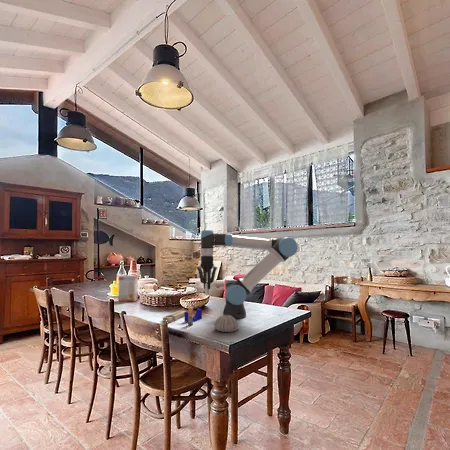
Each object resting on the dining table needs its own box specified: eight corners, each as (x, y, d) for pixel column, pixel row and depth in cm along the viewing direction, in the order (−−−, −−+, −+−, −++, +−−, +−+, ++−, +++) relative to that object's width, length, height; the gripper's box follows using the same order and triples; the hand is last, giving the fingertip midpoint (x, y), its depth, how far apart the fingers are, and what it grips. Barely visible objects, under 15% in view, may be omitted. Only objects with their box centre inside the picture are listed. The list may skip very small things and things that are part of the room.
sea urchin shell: (225, 325, 169) (225, 311, 170) (244, 329, 160) (243, 314, 161) (209, 330, 159) (209, 315, 160) (228, 335, 150) (228, 319, 151)
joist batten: (186, 315, 192) (186, 311, 192) (170, 323, 173) (170, 318, 173) (179, 315, 194) (179, 310, 194) (162, 322, 175) (162, 317, 175)
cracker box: (137, 300, 244) (137, 275, 246) (134, 302, 238) (134, 276, 240) (121, 300, 246) (122, 275, 247) (118, 301, 240) (118, 275, 241)
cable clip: (189, 323, 174) (189, 313, 174) (184, 322, 177) (184, 311, 177) (203, 319, 183) (203, 309, 184) (198, 318, 186) (198, 308, 187)
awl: (193, 324, 170) (193, 307, 171) (191, 325, 168) (191, 308, 168) (189, 324, 171) (189, 306, 172) (187, 325, 169) (187, 307, 169)
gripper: (194, 255, 178) (194, 294, 177) (214, 255, 174) (214, 296, 172) (200, 255, 185) (199, 293, 184) (219, 255, 181) (219, 294, 179)
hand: (207, 294), depth 178 cm, fingers closed
